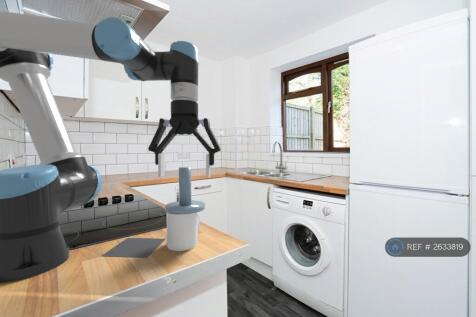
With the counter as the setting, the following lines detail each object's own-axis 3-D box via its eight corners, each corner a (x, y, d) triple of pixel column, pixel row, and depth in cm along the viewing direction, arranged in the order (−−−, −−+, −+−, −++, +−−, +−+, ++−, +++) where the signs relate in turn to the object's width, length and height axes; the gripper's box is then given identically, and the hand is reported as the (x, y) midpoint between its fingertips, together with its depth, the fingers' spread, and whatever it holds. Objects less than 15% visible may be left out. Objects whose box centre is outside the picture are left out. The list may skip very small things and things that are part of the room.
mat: (100, 258, 57) (100, 256, 57) (127, 239, 69) (127, 237, 69) (146, 260, 56) (146, 257, 56) (166, 240, 68) (165, 238, 68)
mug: (189, 234, 73) (188, 202, 73) (210, 239, 69) (210, 205, 69) (160, 249, 62) (159, 212, 62) (183, 255, 59) (183, 216, 58)
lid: (158, 213, 60) (157, 169, 60) (173, 203, 71) (173, 166, 71) (199, 214, 59) (198, 169, 59) (208, 204, 70) (208, 166, 70)
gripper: (134, 98, 61) (135, 177, 62) (227, 97, 59) (226, 179, 60) (147, 104, 69) (148, 174, 70) (230, 103, 67) (229, 175, 68)
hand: (184, 176), depth 65 cm, fingers open, 13 cm apart
